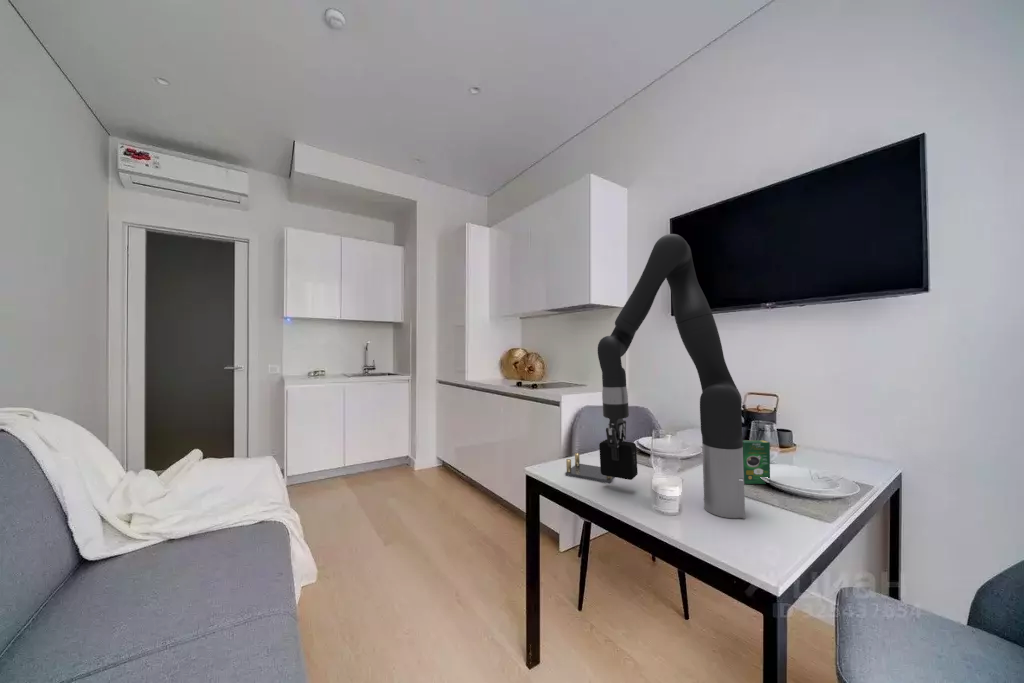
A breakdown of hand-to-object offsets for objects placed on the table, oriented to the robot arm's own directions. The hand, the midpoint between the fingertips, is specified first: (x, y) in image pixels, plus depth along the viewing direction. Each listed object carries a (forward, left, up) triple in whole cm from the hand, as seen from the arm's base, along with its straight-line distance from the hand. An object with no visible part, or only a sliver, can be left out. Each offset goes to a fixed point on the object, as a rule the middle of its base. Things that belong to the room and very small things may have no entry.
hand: (618, 457), depth 111 cm
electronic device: (0, 0, -6) cm, 6 cm away
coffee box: (-35, -25, -10) cm, 44 cm away
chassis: (+11, -9, -10) cm, 17 cm away
